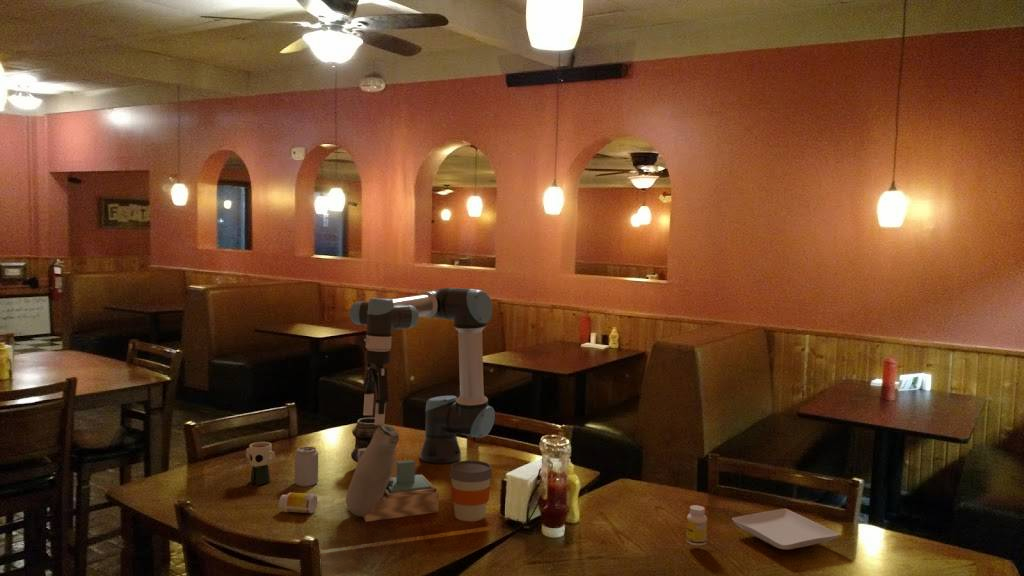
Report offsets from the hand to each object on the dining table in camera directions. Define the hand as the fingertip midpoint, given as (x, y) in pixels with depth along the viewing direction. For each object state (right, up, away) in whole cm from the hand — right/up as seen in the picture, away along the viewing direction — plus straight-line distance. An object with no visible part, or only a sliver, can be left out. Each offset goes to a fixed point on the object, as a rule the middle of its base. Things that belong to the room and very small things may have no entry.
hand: (373, 420), depth 223 cm
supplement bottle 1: (-17, -25, -2) cm, 30 cm away
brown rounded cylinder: (-4, -27, -4) cm, 27 cm away
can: (-27, -26, +23) cm, 44 cm away
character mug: (-42, -25, +23) cm, 54 cm away
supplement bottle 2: (+93, -31, -17) cm, 99 cm away
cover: (+9, -21, +5) cm, 24 cm away
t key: (0, -21, +1) cm, 21 cm away
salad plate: (+119, -32, -10) cm, 124 cm away
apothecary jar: (-9, -25, +39) cm, 48 cm away
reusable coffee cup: (+29, -29, -1) cm, 41 cm away
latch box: (+6, -27, +4) cm, 28 cm away
